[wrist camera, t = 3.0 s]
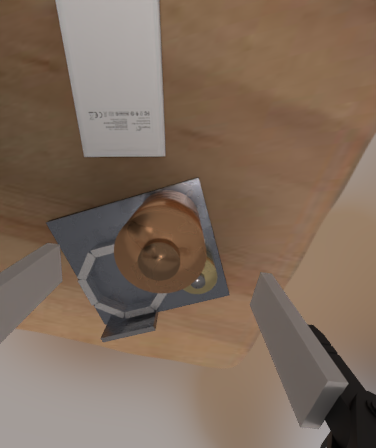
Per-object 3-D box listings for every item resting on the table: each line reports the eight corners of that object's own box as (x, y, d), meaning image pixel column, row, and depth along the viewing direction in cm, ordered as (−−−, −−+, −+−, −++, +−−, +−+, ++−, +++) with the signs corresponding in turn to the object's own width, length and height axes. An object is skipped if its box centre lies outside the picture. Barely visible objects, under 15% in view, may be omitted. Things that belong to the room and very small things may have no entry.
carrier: (106, 321, 28) (93, 350, 24) (48, 221, 23) (19, 236, 19) (228, 292, 26) (236, 317, 22) (198, 177, 21) (201, 183, 17)
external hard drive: (160, 1, 17) (166, 156, 21) (63, 1, 16) (89, 156, 21) (157, -14, 15) (165, 156, 19) (50, -14, 15) (82, 157, 19)
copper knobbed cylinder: (150, 254, 24) (131, 311, 15) (128, 200, 21) (91, 232, 13) (206, 239, 23) (217, 290, 15) (190, 182, 21) (193, 203, 12)
